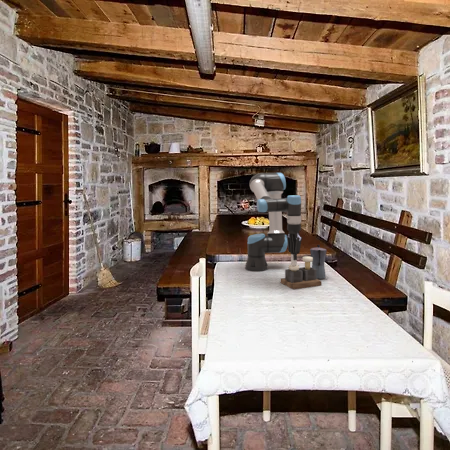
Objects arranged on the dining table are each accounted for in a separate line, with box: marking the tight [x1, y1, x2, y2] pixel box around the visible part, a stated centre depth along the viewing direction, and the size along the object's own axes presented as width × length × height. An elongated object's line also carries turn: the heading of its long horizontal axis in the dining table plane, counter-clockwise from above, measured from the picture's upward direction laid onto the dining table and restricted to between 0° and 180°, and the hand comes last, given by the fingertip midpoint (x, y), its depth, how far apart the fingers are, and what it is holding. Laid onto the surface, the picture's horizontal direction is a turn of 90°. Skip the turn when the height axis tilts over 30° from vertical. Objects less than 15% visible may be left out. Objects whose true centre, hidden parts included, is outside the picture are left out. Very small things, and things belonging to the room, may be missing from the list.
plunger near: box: [288, 264, 300, 272], centre depth 190 cm, size 6×6×8 cm
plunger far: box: [302, 255, 313, 270], centre depth 193 cm, size 6×6×8 cm
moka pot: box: [309, 244, 327, 280], centre depth 204 cm, size 10×15×20 cm, turn 174°
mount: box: [280, 266, 323, 290], centre depth 192 cm, size 14×18×8 cm
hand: (293, 265), depth 189 cm, fingers closed
